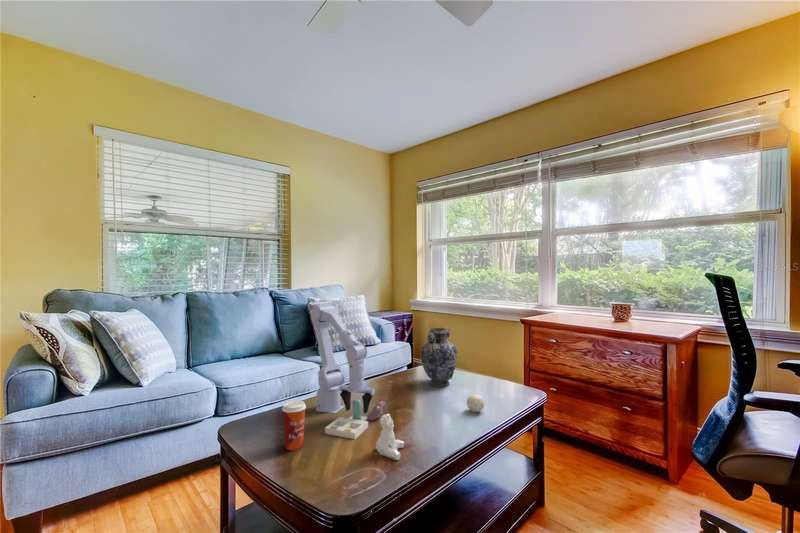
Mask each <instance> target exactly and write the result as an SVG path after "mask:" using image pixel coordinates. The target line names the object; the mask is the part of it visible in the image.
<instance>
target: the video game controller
mask: <svg viewBox="0 0 800 533" xmlns="http://www.w3.org/2000/svg"><path fill="white" fill-rule="evenodd" d="M386 406H387V402H386V401H383V400H380V401H379V402H377V403H376V405H375V406H374V407H373V408H372V412H371V413H369V414H368V416H366V417H367V419H366V420H367V421H375V420H376V419H379V418H380V417H381V416H383V415H384V414H383V411H384V409H385V407H386Z"/></svg>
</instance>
